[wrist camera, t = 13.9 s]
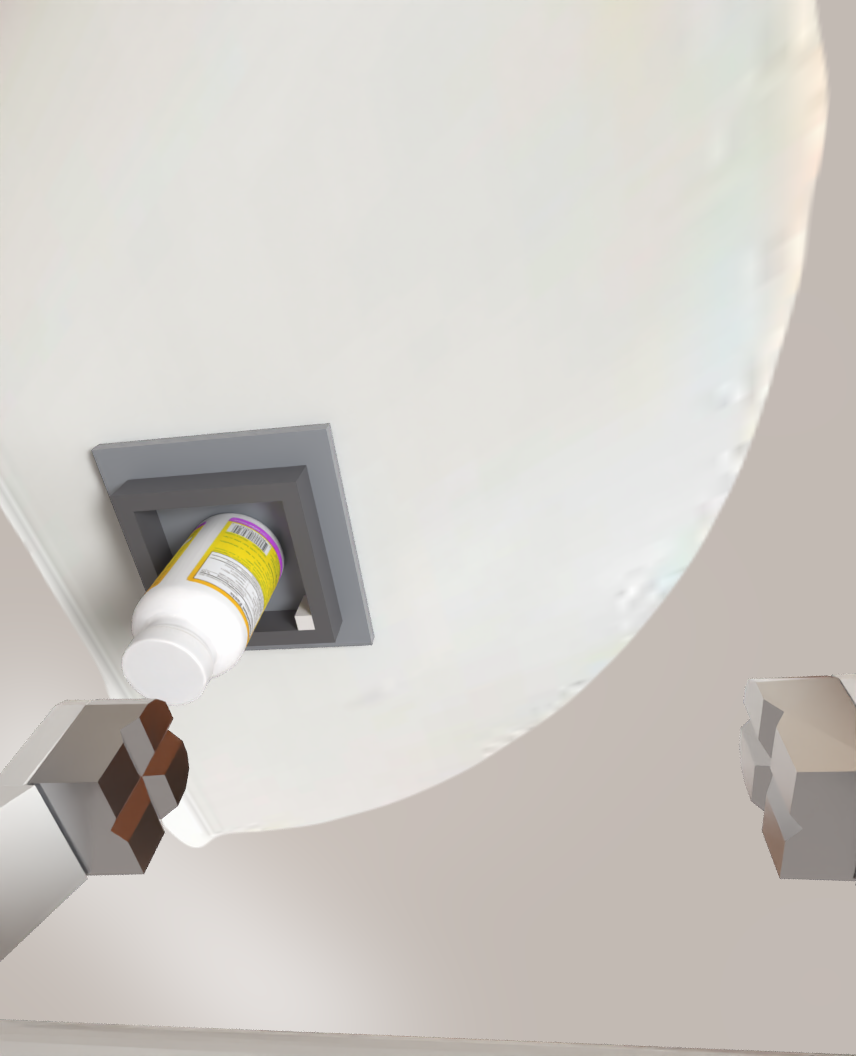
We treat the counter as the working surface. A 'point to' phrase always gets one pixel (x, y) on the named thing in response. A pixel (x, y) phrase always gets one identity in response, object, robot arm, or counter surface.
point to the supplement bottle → (202, 608)
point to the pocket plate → (263, 494)
